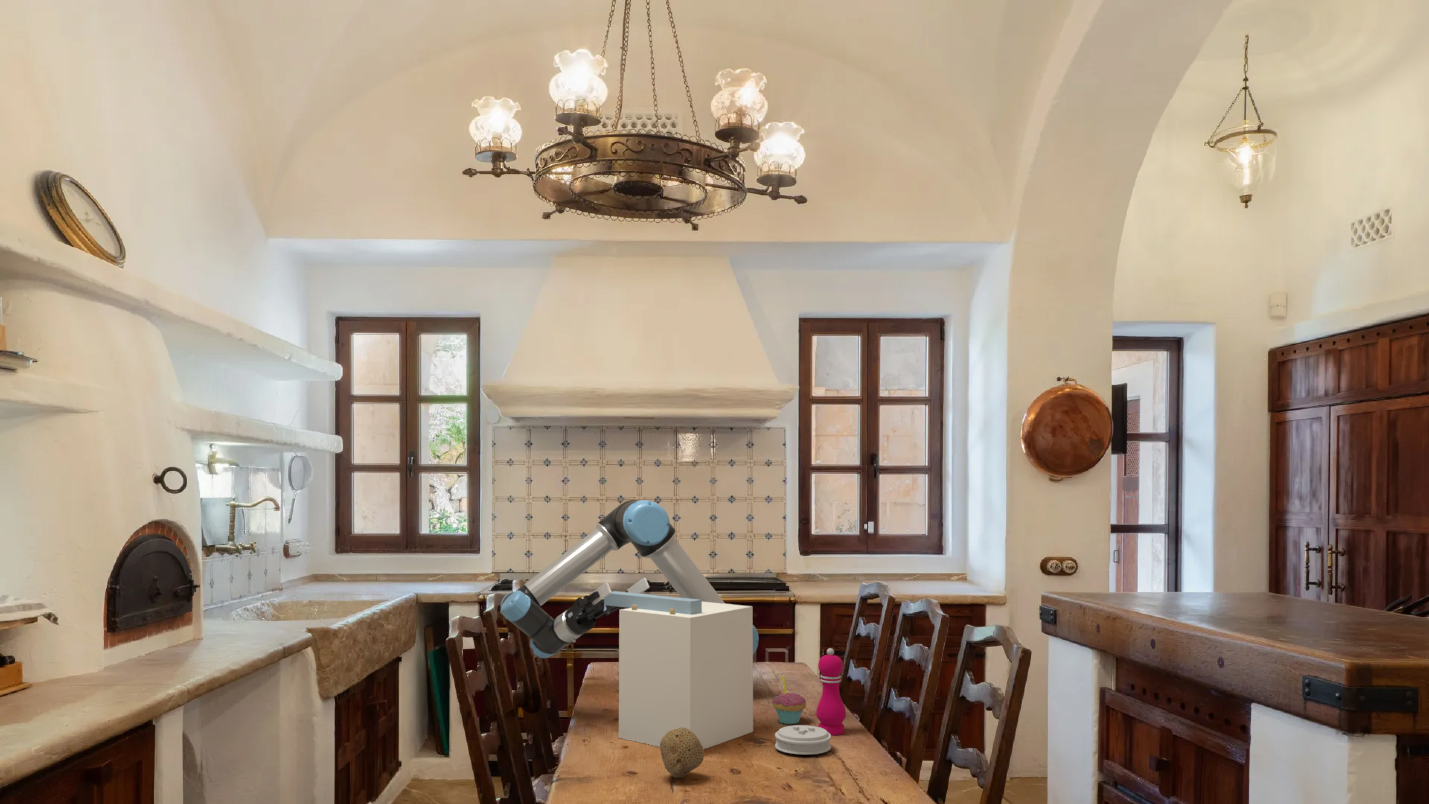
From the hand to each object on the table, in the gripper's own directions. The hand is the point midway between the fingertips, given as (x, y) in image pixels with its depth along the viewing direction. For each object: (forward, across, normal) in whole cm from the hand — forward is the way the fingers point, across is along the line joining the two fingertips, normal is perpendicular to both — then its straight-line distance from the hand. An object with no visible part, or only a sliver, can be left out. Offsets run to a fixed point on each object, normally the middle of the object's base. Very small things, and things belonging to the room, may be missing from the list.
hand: (628, 584), depth 238 cm
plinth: (-6, -6, -37) cm, 38 cm away
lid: (+19, -12, -52) cm, 57 cm away
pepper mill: (+17, -29, -51) cm, 61 cm away
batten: (+4, 0, -8) cm, 9 cm away
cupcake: (+5, -31, -44) cm, 54 cm away
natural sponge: (+12, +20, -48) cm, 53 cm away
